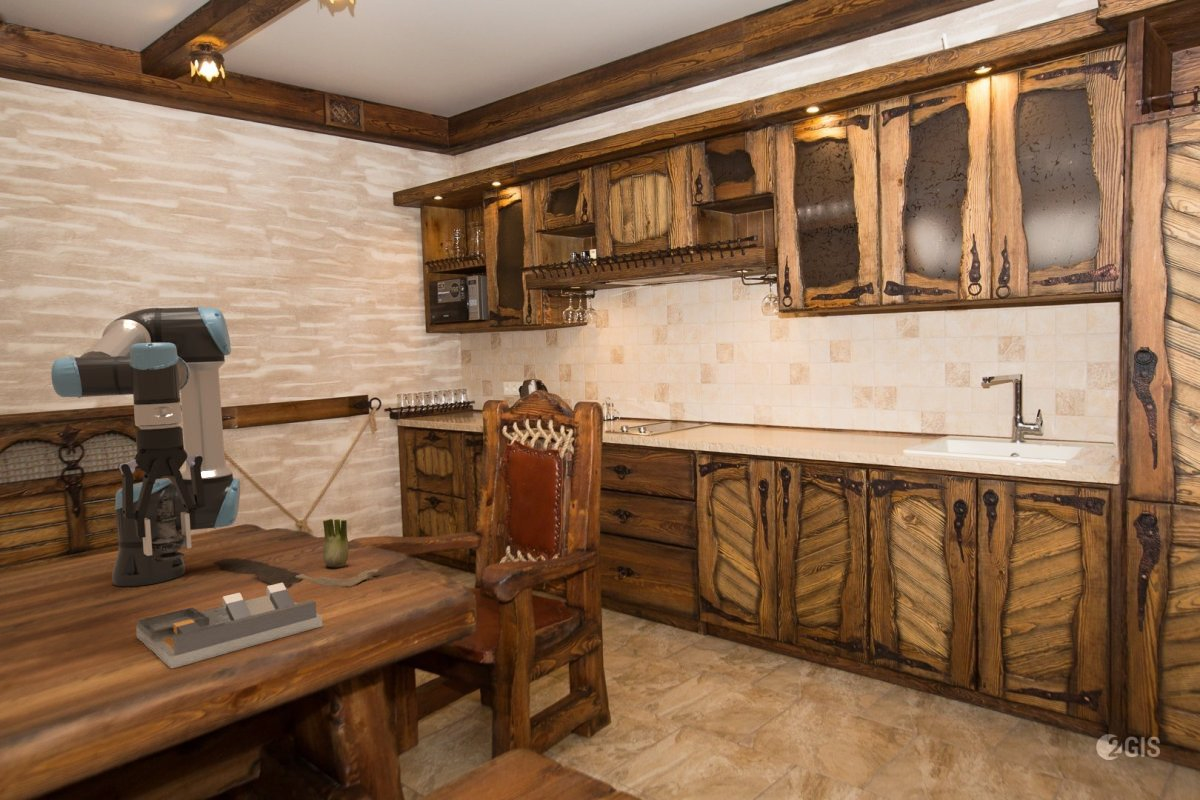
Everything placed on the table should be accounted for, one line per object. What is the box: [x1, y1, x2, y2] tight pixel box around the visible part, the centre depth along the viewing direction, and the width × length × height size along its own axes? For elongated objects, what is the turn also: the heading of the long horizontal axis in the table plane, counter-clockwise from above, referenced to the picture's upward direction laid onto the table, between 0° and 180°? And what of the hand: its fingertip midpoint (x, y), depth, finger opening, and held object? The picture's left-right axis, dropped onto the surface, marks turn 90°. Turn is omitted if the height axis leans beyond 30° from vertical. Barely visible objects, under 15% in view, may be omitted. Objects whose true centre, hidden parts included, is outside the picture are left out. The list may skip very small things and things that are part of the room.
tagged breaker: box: [173, 619, 201, 635], centre depth 135 cm, size 8×3×2 cm, turn 44°
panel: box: [135, 594, 323, 670], centre depth 144 cm, size 22×26×5 cm
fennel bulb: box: [322, 518, 349, 568], centre depth 187 cm, size 6×5×12 cm
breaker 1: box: [221, 592, 252, 621], centre depth 140 cm, size 8×3×2 cm, turn 44°
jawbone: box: [294, 568, 380, 588], centre depth 175 cm, size 9×20×2 cm, turn 85°
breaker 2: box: [265, 582, 296, 610], centre depth 145 cm, size 8×3×2 cm, turn 44°
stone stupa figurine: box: [151, 494, 186, 562], centre depth 141 cm, size 6×6×12 cm
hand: (167, 550), depth 141 cm, fingers closed on stone stupa figurine, 6 cm apart
